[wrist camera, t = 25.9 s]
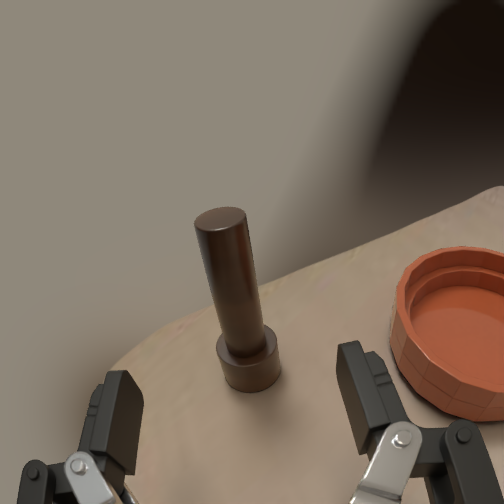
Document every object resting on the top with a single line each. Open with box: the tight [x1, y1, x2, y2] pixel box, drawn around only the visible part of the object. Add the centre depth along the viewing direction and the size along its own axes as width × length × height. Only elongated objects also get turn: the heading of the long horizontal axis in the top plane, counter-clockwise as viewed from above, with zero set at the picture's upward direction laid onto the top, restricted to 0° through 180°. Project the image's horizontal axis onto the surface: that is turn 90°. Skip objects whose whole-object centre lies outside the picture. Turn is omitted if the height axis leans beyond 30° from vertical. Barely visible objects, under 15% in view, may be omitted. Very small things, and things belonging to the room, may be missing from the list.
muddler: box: [194, 207, 280, 392], centre depth 19 cm, size 4×4×12 cm
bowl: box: [390, 246, 504, 422], centre depth 19 cm, size 15×15×4 cm
